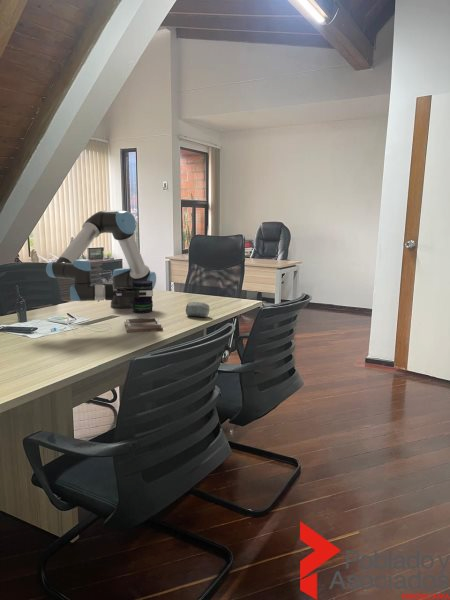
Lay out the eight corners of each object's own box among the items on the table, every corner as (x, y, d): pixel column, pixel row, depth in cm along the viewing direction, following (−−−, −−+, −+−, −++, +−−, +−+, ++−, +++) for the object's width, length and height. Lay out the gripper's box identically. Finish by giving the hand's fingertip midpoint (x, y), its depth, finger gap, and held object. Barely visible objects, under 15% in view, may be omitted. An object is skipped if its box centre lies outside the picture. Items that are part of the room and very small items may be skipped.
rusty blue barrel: (154, 313, 208) (154, 282, 206) (134, 314, 205) (134, 283, 202) (150, 309, 217) (150, 280, 215) (130, 310, 214) (130, 280, 211)
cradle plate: (124, 323, 218) (124, 318, 218) (157, 322, 223) (157, 317, 223) (127, 332, 202) (126, 326, 202) (162, 330, 207) (162, 325, 207)
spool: (180, 311, 236) (188, 295, 237) (186, 315, 244) (194, 300, 246) (201, 320, 230) (208, 303, 232) (206, 324, 239) (214, 308, 241)
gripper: (104, 296, 215) (148, 295, 222) (105, 304, 194) (154, 303, 201) (103, 281, 214) (148, 280, 220) (104, 288, 193) (154, 287, 199)
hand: (151, 291), depth 210 cm, fingers closed on rusty blue barrel, 10 cm apart
